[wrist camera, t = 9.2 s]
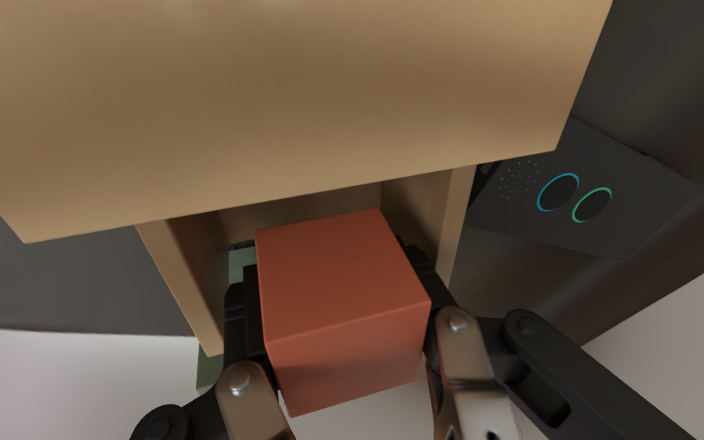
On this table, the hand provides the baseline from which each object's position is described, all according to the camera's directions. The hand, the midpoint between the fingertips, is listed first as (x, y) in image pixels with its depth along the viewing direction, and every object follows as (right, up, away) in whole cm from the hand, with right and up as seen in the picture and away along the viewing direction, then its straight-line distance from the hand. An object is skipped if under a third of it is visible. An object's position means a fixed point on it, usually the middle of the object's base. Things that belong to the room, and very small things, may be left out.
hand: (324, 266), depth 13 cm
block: (0, 0, 0) cm, 0 cm away
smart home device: (+18, +4, +12) cm, 22 cm away
